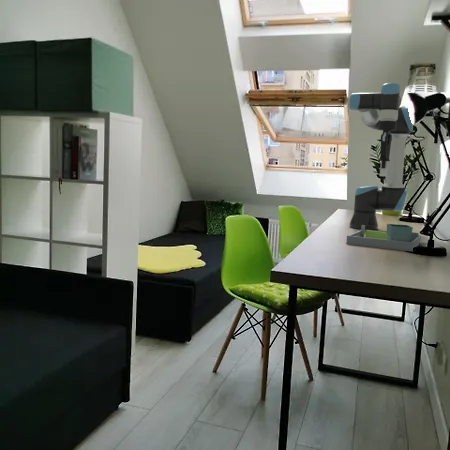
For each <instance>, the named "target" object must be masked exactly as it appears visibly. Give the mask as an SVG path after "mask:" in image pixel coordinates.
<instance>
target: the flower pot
mask: <svg viewBox="0 0 450 450" xmlns="http://www.w3.org/2000/svg"><path fill="white" fill-rule="evenodd" d="M413 229H414V227H412V226H410V225H408V224H394V223H386V232H387V238H388V240H395V241H404V242H409V241H410V238H411V234H412V232H413Z"/></svg>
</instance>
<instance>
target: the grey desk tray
mask: <svg viewBox="0 0 450 450" xmlns="http://www.w3.org/2000/svg"><path fill="white" fill-rule="evenodd" d="M365 235H366V229H365V225H362V228H361V229H360V230H357V231H355V232H352V233H350V234H347V235H346V244H347V245H352V246H353V245H354V246H362V247H363V246H364V247H370V248H379V249H388V250H397V251H404V252H405V251H406V252H414V251H413V248H414V246H415V245H416V244H417V243H420V244H421V238H422V237H421V236H420V235H419V232H416V231H415V232H414V231H412V234H411V238H410V241H409V242H404V241H395V240H386V239H376V238H367V237H365Z"/></svg>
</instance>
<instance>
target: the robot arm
mask: <svg viewBox="0 0 450 450" xmlns="http://www.w3.org/2000/svg"><path fill="white" fill-rule="evenodd" d="M400 94H401V85H400V84H399V83H396V82H387V83H383V84H382V85H381V90H380V92H354V93H351V94H350V95H349V100H348V104H349V105H348V106H349V109H350V110H351V111H358V113H359V114H360V117H361V121H362V123H363V124H364V125H365V126H367V127H368V128H370V129H373V130H377V131H380V132H381V131H382V133H381V135H380V150H379V151H380V154H379V155H380V156H379V160H378V161H379V162H380V166H379V167H380V169H379V177H385V179H384V181H385V182H384V183H383V184H382V185H381V188H379V186H378V185H371V186H370V185H369V186H359V187H357V188H355V194H354V206H353V214H352V217H351V219H350V222H349V228H351V229H360V230H361V228H362V225H365V230H378V228H379V223H378V220H377V210H378V211H387V212H390V211H391V212H402V211H403V210H404V208H405V204H406V200H407V196H408V189H406V186H405V185H404V184H403V179H404V177H403V176H404V167H405V166H404V165H405V154H406V153H405V152H406V142H407V137H408V136H410V132H412V131H413V129H414V123H413V124H412V123H411V120H410V117H409V112H408V108H409V107H401V104H402V98H401V95H400Z"/></svg>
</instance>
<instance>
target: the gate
mask: <svg viewBox="0 0 450 450" xmlns="http://www.w3.org/2000/svg"><path fill="white" fill-rule="evenodd" d="M364 237H367V238H376V239H386V240H388V238H387V231H378V230H372V229H365V235H364Z"/></svg>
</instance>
